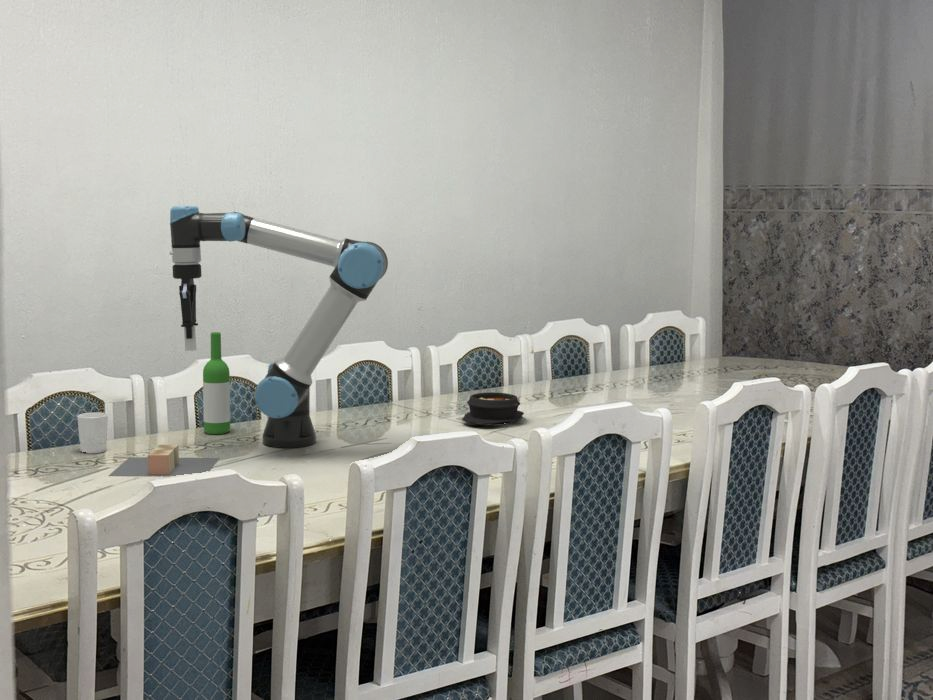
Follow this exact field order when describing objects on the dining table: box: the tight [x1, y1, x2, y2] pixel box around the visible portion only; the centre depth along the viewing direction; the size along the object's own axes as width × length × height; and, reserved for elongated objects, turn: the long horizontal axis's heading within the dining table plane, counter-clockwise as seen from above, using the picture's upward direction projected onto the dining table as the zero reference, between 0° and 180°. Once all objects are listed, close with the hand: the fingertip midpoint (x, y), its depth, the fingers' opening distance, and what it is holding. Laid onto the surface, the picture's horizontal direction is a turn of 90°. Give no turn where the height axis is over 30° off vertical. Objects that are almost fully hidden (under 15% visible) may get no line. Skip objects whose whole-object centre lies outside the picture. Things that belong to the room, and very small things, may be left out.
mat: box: [108, 456, 221, 478], centre depth 280 cm, size 24×20×1 cm
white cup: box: [77, 412, 109, 454], centre depth 297 cm, size 8×8×10 cm
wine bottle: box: [202, 331, 231, 435], centre depth 321 cm, size 8×8×30 cm
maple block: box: [147, 444, 180, 475], centre depth 277 cm, size 5×5×12 cm
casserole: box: [461, 391, 525, 425], centre depth 346 cm, size 25×19×8 cm
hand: (190, 350), depth 295 cm, fingers closed
